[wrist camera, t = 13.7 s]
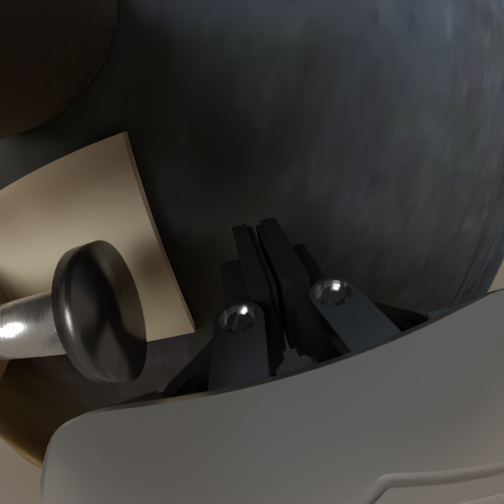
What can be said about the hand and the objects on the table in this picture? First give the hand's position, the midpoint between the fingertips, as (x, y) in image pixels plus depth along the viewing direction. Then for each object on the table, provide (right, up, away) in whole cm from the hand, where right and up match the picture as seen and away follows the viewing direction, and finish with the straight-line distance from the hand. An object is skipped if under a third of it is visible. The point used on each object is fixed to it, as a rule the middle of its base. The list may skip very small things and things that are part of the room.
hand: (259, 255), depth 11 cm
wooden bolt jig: (-20, -3, +2) cm, 20 cm away
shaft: (-12, -2, +1) cm, 12 cm away
